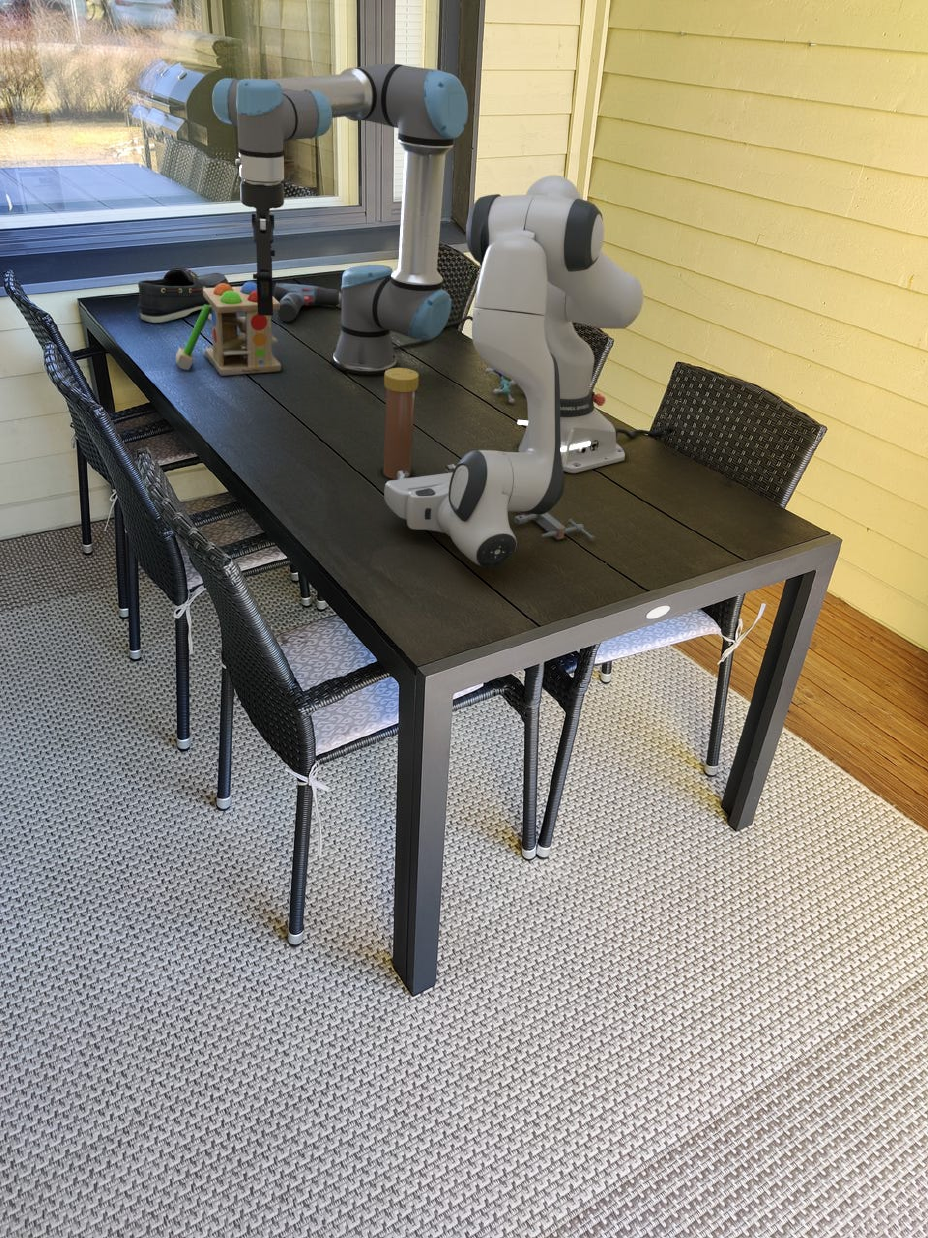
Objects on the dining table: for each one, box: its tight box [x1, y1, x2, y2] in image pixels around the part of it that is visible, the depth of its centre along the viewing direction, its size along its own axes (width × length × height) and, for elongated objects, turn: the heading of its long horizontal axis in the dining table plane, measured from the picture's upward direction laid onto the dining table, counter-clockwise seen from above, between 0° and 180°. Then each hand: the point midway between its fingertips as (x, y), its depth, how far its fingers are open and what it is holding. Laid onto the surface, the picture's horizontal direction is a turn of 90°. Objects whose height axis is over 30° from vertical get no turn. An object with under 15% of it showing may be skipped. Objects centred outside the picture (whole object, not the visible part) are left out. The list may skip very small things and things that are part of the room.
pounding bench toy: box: [174, 281, 282, 377], centre depth 225 cm, size 23×14×18 cm, turn 116°
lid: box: [383, 367, 420, 392], centre depth 180 cm, size 6×6×2 cm
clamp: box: [514, 512, 596, 542], centre depth 176 cm, size 15×2×10 cm
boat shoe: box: [137, 266, 230, 324], centre depth 260 cm, size 13×33×10 cm, turn 147°
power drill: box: [273, 282, 341, 322], centre depth 265 cm, size 5×19×20 cm
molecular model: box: [485, 367, 525, 405], centre depth 227 cm, size 12×10×10 cm
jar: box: [382, 387, 417, 480], centre depth 185 cm, size 5×5×20 cm
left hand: (265, 303), depth 182 cm, fingers open, 13 cm apart
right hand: (425, 471), depth 178 cm, fingers open, 8 cm apart
